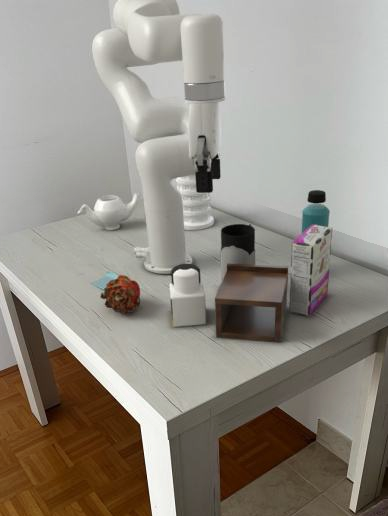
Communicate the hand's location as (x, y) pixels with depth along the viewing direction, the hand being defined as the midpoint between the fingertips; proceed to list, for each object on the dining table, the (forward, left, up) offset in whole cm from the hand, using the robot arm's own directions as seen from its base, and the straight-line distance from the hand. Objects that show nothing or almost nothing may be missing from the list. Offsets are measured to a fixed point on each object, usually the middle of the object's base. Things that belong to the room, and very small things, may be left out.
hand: (208, 185), depth 110 cm
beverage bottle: (+21, +19, -27) cm, 39 cm away
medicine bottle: (-4, -8, -27) cm, 28 cm away
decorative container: (-16, +50, -27) cm, 59 cm away
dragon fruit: (-20, -5, -27) cm, 34 cm away
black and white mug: (+5, +9, -27) cm, 29 cm away
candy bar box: (+21, +2, -27) cm, 34 cm away
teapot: (-41, +44, -27) cm, 66 cm away
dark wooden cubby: (+10, -8, -27) cm, 30 cm away
